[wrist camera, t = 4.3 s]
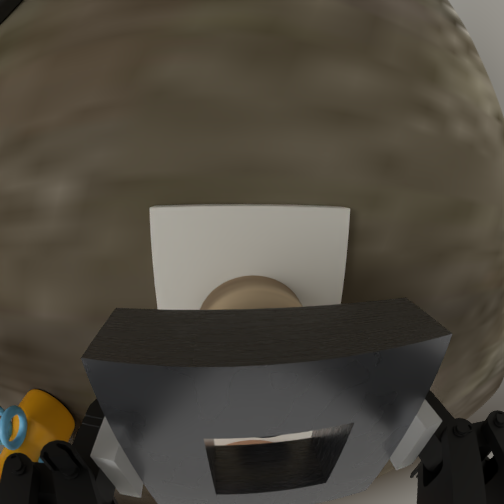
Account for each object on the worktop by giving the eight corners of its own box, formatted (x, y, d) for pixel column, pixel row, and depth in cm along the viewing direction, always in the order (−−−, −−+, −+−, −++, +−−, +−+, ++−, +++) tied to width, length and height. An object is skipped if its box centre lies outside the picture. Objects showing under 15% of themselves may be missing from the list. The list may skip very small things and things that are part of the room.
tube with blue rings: (0, 385, 17) (-58, 467, 3) (19, 344, 16) (-69, 451, 2) (80, 454, 20) (49, 548, 6) (120, 432, 19) (86, 562, 5)
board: (155, 205, 15) (149, 207, 14) (341, 206, 16) (350, 208, 15) (197, 477, 22) (197, 485, 21) (297, 471, 23) (299, 479, 22)
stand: (194, 275, 15) (170, 355, 8) (308, 274, 16) (367, 344, 8) (201, 368, 17) (193, 462, 9) (298, 364, 17) (333, 451, 10)
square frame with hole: (115, 307, 7) (81, 358, 5) (405, 297, 8) (452, 333, 6) (166, 468, 10) (162, 509, 7) (349, 454, 10) (365, 490, 8)
